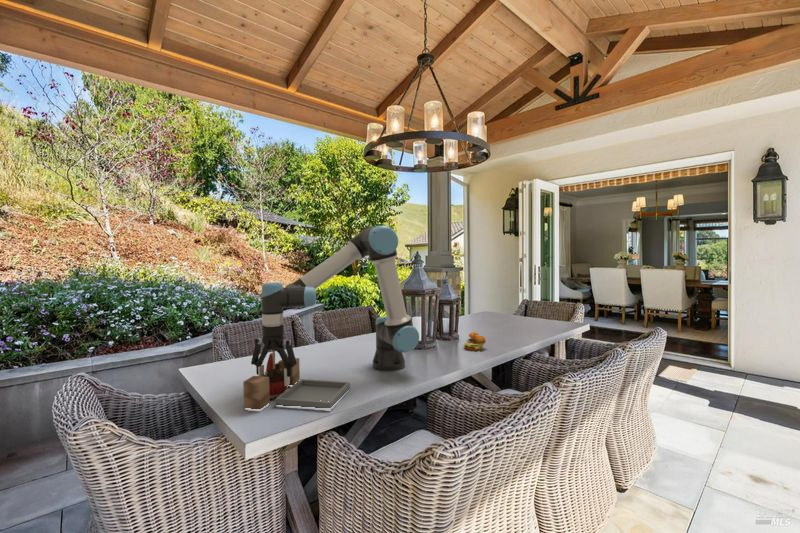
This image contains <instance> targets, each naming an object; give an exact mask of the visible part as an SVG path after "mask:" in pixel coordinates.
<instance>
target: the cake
mask: <svg viewBox="0 0 800 533" xmlns="http://www.w3.org/2000/svg"><path fill="white" fill-rule="evenodd" d="M271 351H272V352H270V353H269V355H268V359H267V363H266V367H265V369H266V370H265V371H264V376H263V377H269V390H270V399H275V398H274V397H278V396H280V395H281V394H282V393H284V392H285V391H286V390H288V389H289V388H288V387H287V386H288V385H287V386H284V372H282V371H280V368H281V364H280V363H278V362H276V350H271Z"/></svg>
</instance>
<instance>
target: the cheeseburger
mask: <svg viewBox="0 0 800 533" xmlns="http://www.w3.org/2000/svg"><path fill="white" fill-rule="evenodd" d="M468 337H469V338H468V339H466V340H465V341H464V344H463V347H462V348H464V350H465V349H466V350H469V351H474V352H476V351H477V352H478V350H479V351H481V350H482V349H483V348H484V346H485V345H484V344H486V342H487V341H486V337H485V336H483V335H480V334H479V333H477V332H475V331H472V332H470V333H469V334H468Z"/></svg>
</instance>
